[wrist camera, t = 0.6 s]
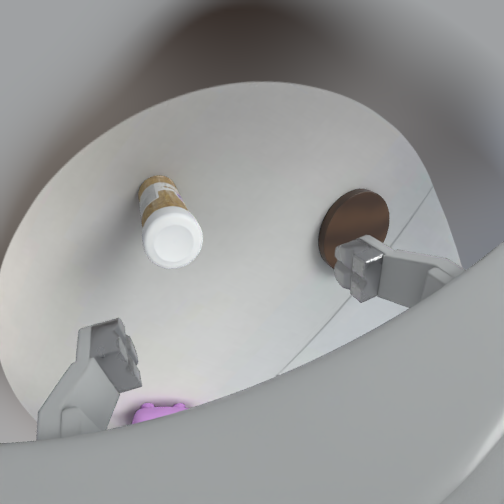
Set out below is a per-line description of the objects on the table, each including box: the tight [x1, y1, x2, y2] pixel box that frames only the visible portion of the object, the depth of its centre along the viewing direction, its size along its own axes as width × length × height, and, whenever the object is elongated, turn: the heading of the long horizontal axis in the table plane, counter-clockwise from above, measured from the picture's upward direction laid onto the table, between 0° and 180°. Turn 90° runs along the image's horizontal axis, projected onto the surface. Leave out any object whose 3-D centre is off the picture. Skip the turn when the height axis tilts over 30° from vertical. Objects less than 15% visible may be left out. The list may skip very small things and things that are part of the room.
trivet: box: [319, 189, 389, 269], centre depth 46 cm, size 14×14×2 cm
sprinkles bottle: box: [138, 176, 203, 269], centre depth 27 cm, size 5×4×14 cm
